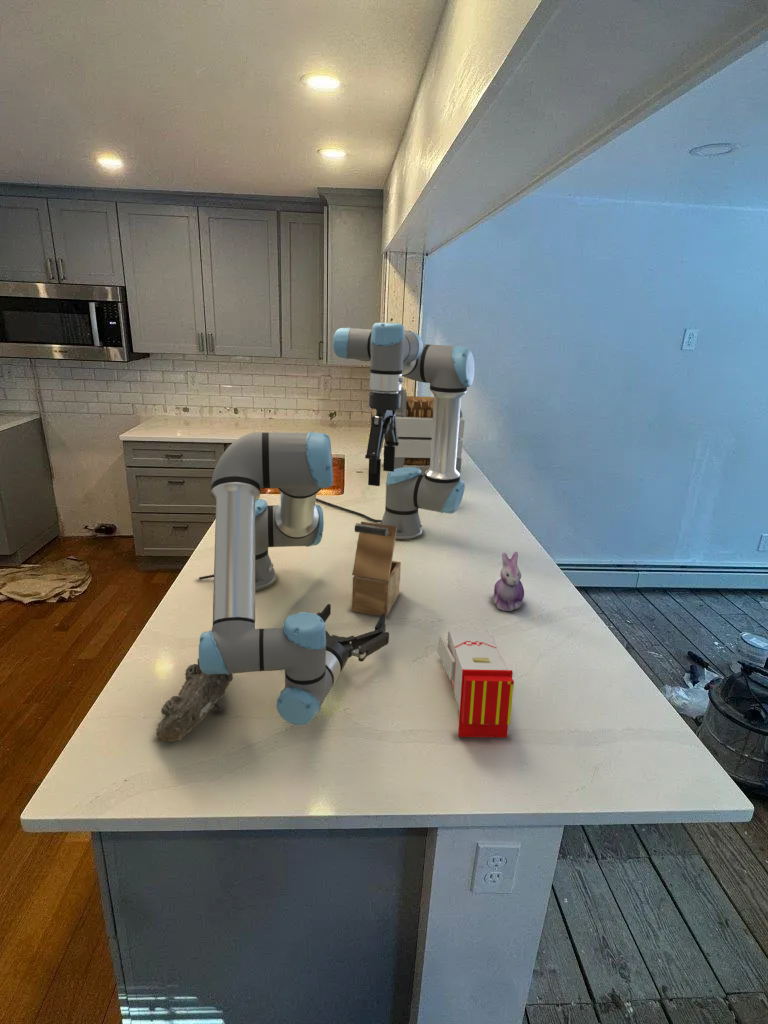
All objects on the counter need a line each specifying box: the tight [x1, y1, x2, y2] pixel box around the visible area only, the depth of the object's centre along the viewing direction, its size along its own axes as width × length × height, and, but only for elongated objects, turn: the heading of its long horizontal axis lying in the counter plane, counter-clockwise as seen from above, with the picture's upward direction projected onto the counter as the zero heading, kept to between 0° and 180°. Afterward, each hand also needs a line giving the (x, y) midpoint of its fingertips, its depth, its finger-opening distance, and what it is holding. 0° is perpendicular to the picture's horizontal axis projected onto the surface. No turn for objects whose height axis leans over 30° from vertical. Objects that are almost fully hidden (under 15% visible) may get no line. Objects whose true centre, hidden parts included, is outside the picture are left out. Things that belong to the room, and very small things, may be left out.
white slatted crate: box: [383, 386, 465, 475], centre depth 268 cm, size 34×33×41 cm
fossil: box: [155, 657, 234, 743], centre depth 109 cm, size 22×10×15 cm
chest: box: [351, 560, 402, 618], centre depth 151 cm, size 14×9×10 cm
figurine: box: [492, 551, 525, 612], centre depth 152 cm, size 9×10×15 cm
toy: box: [437, 628, 515, 738], centre depth 117 cm, size 12×13×30 cm
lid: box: [351, 521, 397, 581], centre depth 141 cm, size 14×9×9 cm
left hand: (356, 613), depth 135 cm, fingers open, 13 cm apart
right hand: (381, 477), depth 141 cm, fingers open, 13 cm apart
